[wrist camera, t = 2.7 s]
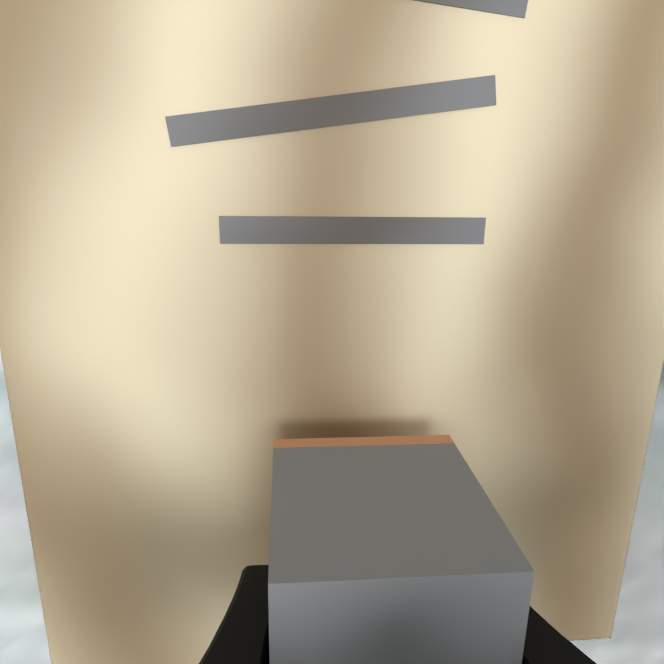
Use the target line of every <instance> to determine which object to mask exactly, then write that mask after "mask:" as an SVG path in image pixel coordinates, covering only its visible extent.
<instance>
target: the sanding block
mask: <svg viewBox="0 0 664 664" xmlns="http://www.w3.org/2000/svg"><path fill="white" fill-rule="evenodd" d="M533 579H534V570H533V568H532V567H531V565H530V564H529V562H528V560H527V559H526V557H525V556H524V554H523V552H522V551H521V549H520V548H519V546H518V544H517V543H516V541H515V540H514V538H513V536H512V535H511V533H510V532H509V530H508V528H507V527H506V525H505V523H504V522H503V520H502V519H501V517H500V515H499V514H498V512H497V511H496V509H495V507H494V506H493V504H492V503H491V501H490V499H489V498H488V496H487V495H486V493H485V491H484V490H483V488H482V487H481V485H480V483H479V482H478V480H477V479H476V477H475V475H474V474H473V472H472V471H471V469H470V467H469V466H468V464H467V463H466V461H465V459H464V458H463V456H462V455H461V453H460V451H459V450H458V448H457V447H456V445H455V443H454V442H453V440H452V439H451V437H450V435H425V436H384V437H343V438H303V439H274V442H273V467H272V493H271V518H270V544H269V569H268V612H269V661H270V664H522V657H523V650H524V643H525V636H526V629H527V622H528V614H529V607H530V600H531V593H532V586H533Z"/></svg>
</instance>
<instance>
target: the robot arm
mask: <svg viewBox="0 0 664 664" xmlns="http://www.w3.org/2000/svg"><path fill="white" fill-rule="evenodd" d="M268 569H269V565H249V566H246V567H245V568H244V569H243V570H242V574H241V577H240V580H239V583H238V586H237V589H236V591H235V594H234V596H233V598H232V601H231V603H230V605H229V607H228V610H227V612H226V614H225V616H224V618H223V620H222V622H221V624H220V626H219V628H218V630H217V632H216V634H215V636H214V638H213V640H212V642H211V643H210V645H209V647H208V649H207V650H206V652H205V654H204V656H203V657H202V659H201V661H200V662H199V664H270V661H269V612H268ZM522 664H596V663H595V662H594V661H592V660H591V659H590V658H589V657H587V656H586V655H585V654H584V653H583V652H581V651H580V650H579V649H578V648H577V647H576V646H574V645H573V644H572V643H571V642H570V641H568V640H567V639H566V638H565V637H564V636H563V635H561V634H560V633H559V632H558V631H557V630H556V629H555V628H554V627H552V626H551V625H550V624H549V623H548V622H547V621H546V620H545V619H544V618H543V617H542V616H540V615H539V614H538V613H537V612H536V611H535V610H534V609H533V608H532V607H531V606H530V607H529V614H528V622H527V629H526V636H525V643H524V650H523V657H522Z"/></svg>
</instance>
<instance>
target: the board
mask: <svg viewBox="0 0 664 664" xmlns="http://www.w3.org/2000/svg"><path fill="white" fill-rule="evenodd" d="M0 350H1V356H2V362H3V368H4V374H5V381H6V387H7V393H8V399H9V405H10V411H11V418H12V424H13V430H14V436H15V442H16V448H17V455H18V461H19V467H20V473H21V479H22V485H23V492H24V498H25V504H26V510H27V516H28V522H29V529H30V535H31V541H32V547H33V553H34V559H35V566H36V572H37V578H38V584H39V590H40V596H41V603H42V609H43V615H44V621H45V627H46V633H47V640H48V646H49V652H50V658H51V664H199V662H200V661H201V659H202V657H203V656H204V654H205V652H206V650H207V649H208V647H209V645H210V643H211V642H212V640H213V638H214V636H215V634H216V632H217V630H218V628H219V626H220V624H221V622H222V620H223V618H224V616H225V614H226V612H227V610H228V607H229V605H230V603H231V601H232V598H233V596H234V594H235V591H236V589H237V586H238V583H239V580H240V577H241V574H242V570H243V569H244V568H245V567H246V566H249V565H269V544H270V518H271V493H272V467H273V442H274V439H303V438H343V437H384V436H425V435H450V437H451V439H452V440H453V442H454V443H455V445H456V447H457V448H458V450H459V451H460V453H461V455H462V456H463V458H464V459H465V461H466V463H467V464H468V466H469V467H470V469H471V471H472V472H473V474H474V475H475V477H476V479H477V480H478V482H479V483H480V485H481V487H482V488H483V490H484V491H485V493H486V495H487V496H488V498H489V499H490V501H491V503H492V504H493V506H494V507H495V509H496V511H497V512H498V514H499V515H500V517H501V519H502V520H503V522H504V523H505V525H506V527H507V528H508V530H509V532H510V533H511V535H512V536H513V538H514V540H515V541H516V543H517V544H518V546H519V548H520V549H521V551H522V552H523V554H524V556H525V557H526V559H527V560H528V562H529V564H530V565H531V567H532V568H533V570H534V579H533V586H532V593H531V600H530V606H531V607H532V608H533V609H534V610H535V611H536V612H537V613H538V614H539V615H540V616H542V617H543V618H544V619H545V620H546V621H547V622H548V623H549V624H550V625H551V626H552V627H554V628H555V629H556V630H557V631H558V632H559V633H560V634H561V635H563V636H564V637H565V638H566V639H567V640H568V641H572V640H587V639H602V638H611V634H612V629H613V624H614V618H615V613H616V608H617V603H618V597H619V592H620V587H621V582H622V576H623V571H624V566H625V561H626V555H627V550H628V545H629V540H630V534H631V529H632V524H633V518H634V513H635V508H636V503H637V497H638V492H639V487H640V482H641V476H642V471H643V466H644V461H645V455H646V450H647V445H648V440H649V434H650V429H651V424H652V418H653V413H654V408H655V403H656V397H657V392H658V387H659V382H660V376H661V371H662V366H663V361H664V0H0Z"/></svg>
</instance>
